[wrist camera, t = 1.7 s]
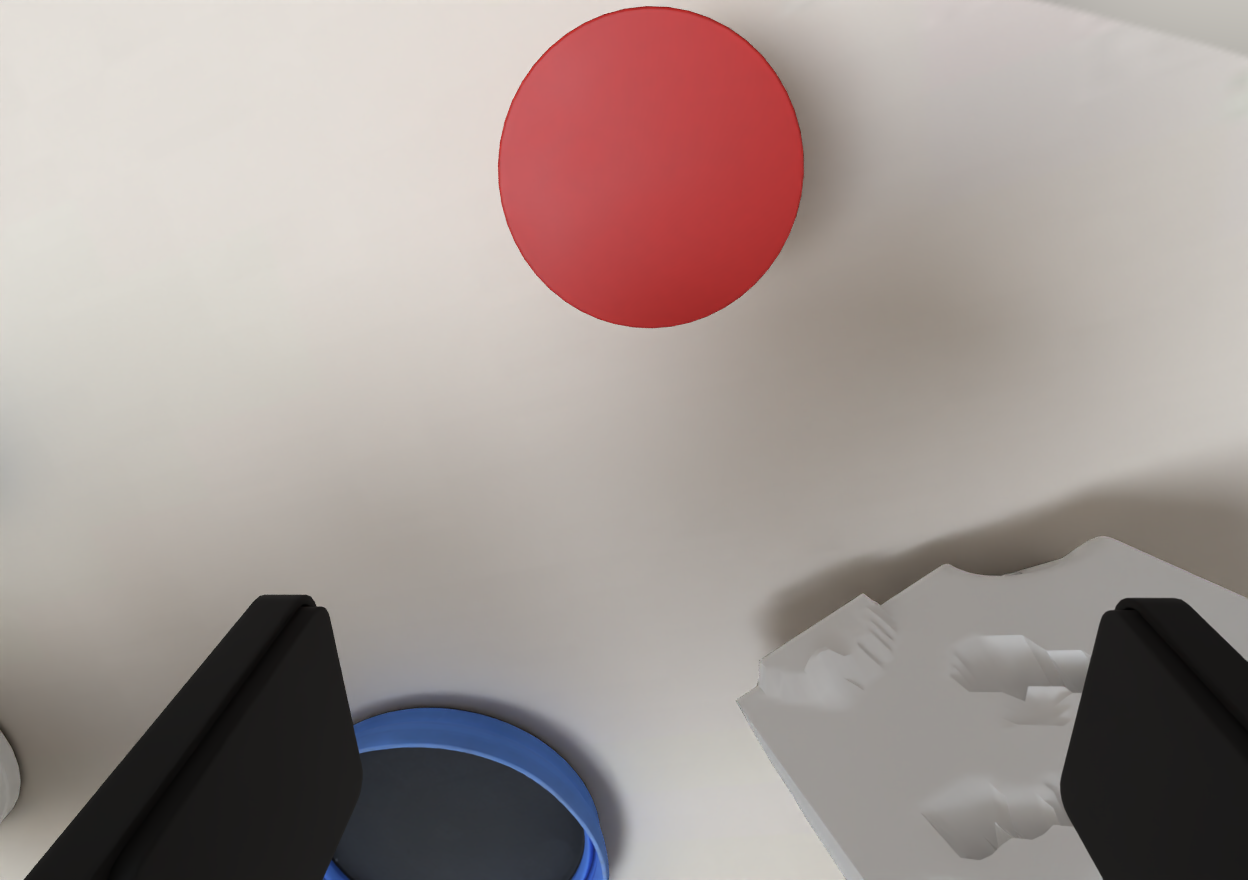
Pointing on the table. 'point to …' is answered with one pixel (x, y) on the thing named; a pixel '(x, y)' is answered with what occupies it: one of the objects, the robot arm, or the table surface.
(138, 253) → the table surface
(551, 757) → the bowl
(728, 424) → the table surface
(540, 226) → the lid
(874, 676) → the jagged white slab
